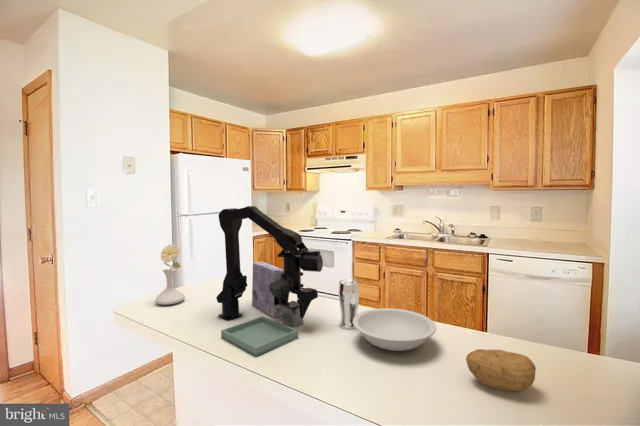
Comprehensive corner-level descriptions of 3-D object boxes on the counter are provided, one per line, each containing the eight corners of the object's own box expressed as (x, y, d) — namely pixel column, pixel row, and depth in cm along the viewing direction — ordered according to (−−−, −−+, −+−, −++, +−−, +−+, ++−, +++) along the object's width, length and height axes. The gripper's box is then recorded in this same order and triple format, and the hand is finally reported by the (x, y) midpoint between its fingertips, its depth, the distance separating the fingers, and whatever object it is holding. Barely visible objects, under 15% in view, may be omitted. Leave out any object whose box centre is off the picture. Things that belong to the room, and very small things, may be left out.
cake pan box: (287, 316, 118) (286, 268, 117) (275, 319, 115) (274, 270, 114) (262, 302, 133) (261, 260, 133) (251, 305, 130) (250, 262, 129)
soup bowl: (382, 321, 113) (382, 303, 112) (450, 343, 95) (450, 321, 95) (336, 344, 96) (335, 322, 95) (408, 375, 79) (408, 349, 78)
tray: (221, 338, 100) (221, 330, 100) (262, 322, 112) (262, 315, 112) (256, 357, 88) (255, 348, 88) (298, 338, 100) (298, 330, 100)
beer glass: (358, 330, 105) (358, 285, 104) (337, 329, 107) (337, 284, 106) (360, 322, 112) (360, 279, 111) (340, 320, 113) (340, 278, 113)
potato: (464, 370, 81) (465, 338, 81) (530, 381, 76) (531, 348, 75) (466, 392, 72) (466, 357, 72) (540, 406, 67) (541, 369, 66)
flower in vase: (149, 303, 133) (147, 244, 132) (175, 296, 143) (173, 240, 141) (167, 310, 126) (164, 246, 125) (193, 301, 135) (191, 242, 134)
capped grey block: (282, 325, 110) (281, 304, 110) (293, 320, 114) (293, 300, 114) (292, 329, 107) (292, 307, 106) (303, 324, 111) (303, 303, 110)
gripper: (256, 270, 110) (257, 315, 111) (293, 279, 97) (294, 329, 98) (281, 264, 118) (282, 306, 119) (318, 272, 105) (319, 319, 106)
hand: (293, 315), depth 110 cm, fingers open, 8 cm apart
